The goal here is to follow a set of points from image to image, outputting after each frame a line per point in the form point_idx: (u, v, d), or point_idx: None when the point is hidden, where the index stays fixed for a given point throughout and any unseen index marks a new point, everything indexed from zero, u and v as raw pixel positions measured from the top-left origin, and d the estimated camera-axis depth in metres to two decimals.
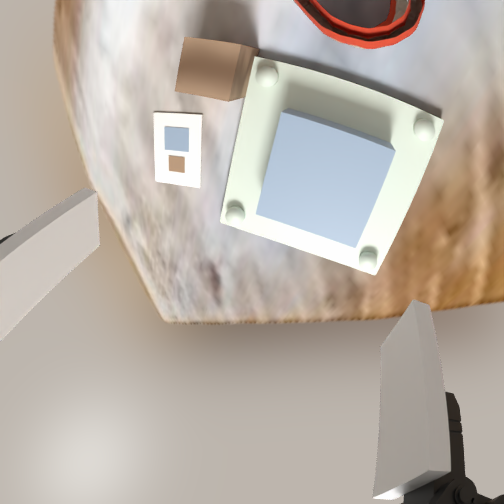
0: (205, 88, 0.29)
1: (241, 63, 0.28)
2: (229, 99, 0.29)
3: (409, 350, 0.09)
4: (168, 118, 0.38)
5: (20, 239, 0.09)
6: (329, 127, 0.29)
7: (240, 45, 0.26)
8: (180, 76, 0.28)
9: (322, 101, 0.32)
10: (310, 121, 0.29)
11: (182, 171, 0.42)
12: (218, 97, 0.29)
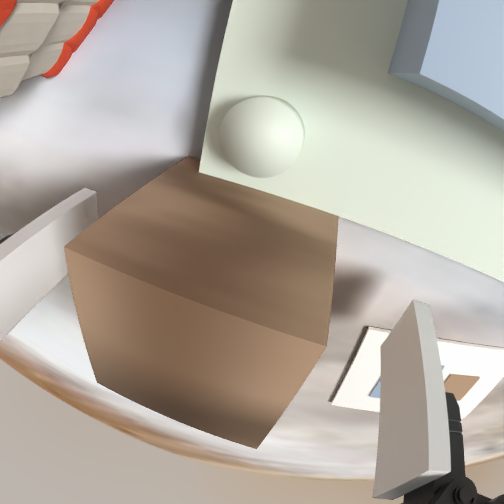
0: (252, 397, 0.07)
1: (170, 238, 0.08)
2: (317, 336, 0.06)
3: (409, 350, 0.09)
4: (353, 387, 0.16)
5: (20, 239, 0.09)
6: None
7: (69, 249, 0.06)
8: (209, 429, 0.09)
9: None
10: None
11: (474, 380, 0.14)
12: (298, 374, 0.06)
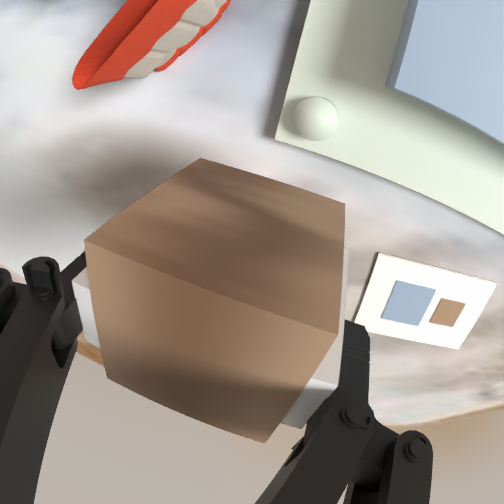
0: (263, 389, 0.08)
1: (187, 234, 0.08)
2: (329, 326, 0.06)
3: None
4: (369, 309, 0.23)
5: None
6: None
7: (89, 242, 0.07)
8: (219, 423, 0.09)
9: (367, 18, 0.13)
10: (414, 27, 0.09)
11: (461, 306, 0.20)
12: (310, 363, 0.07)
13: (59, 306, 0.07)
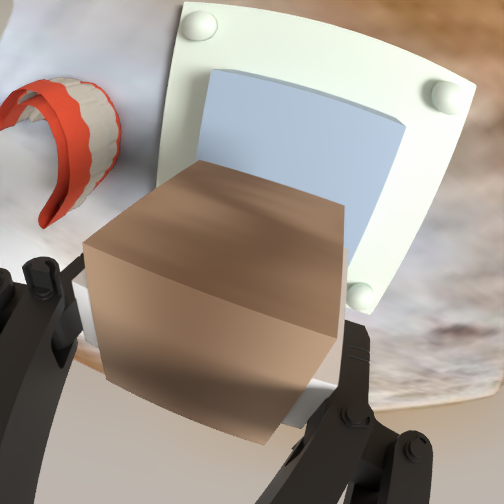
0: (262, 391, 0.08)
1: (186, 237, 0.08)
2: (328, 329, 0.06)
3: None
4: None
5: None
6: None
7: (87, 245, 0.07)
8: (218, 425, 0.09)
9: None
10: None
11: None
12: (309, 366, 0.07)
13: (59, 306, 0.07)
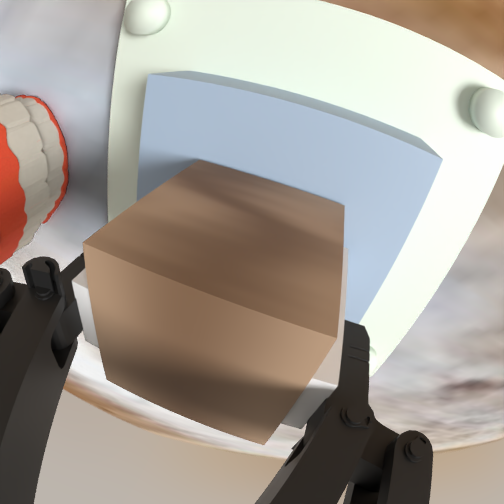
0: (262, 391, 0.08)
1: (186, 237, 0.08)
2: (328, 329, 0.06)
3: None
4: None
5: None
6: None
7: (87, 245, 0.07)
8: (218, 425, 0.09)
9: None
10: None
11: None
12: (309, 366, 0.07)
13: (59, 306, 0.07)
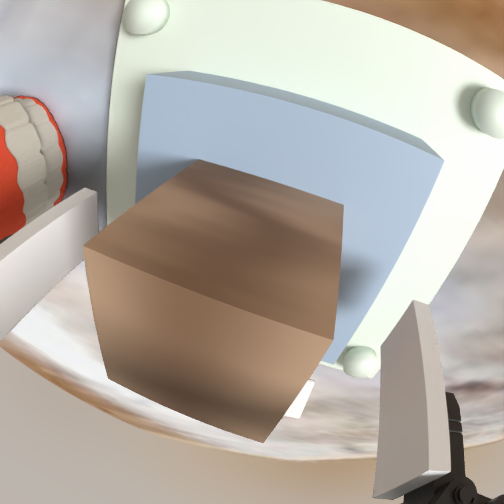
0: (260, 390, 0.08)
1: (185, 239, 0.08)
2: (324, 331, 0.06)
3: (409, 350, 0.09)
4: None
5: (20, 239, 0.09)
6: None
7: (88, 248, 0.07)
8: (218, 423, 0.10)
9: None
10: None
11: None
12: (306, 367, 0.07)
13: None
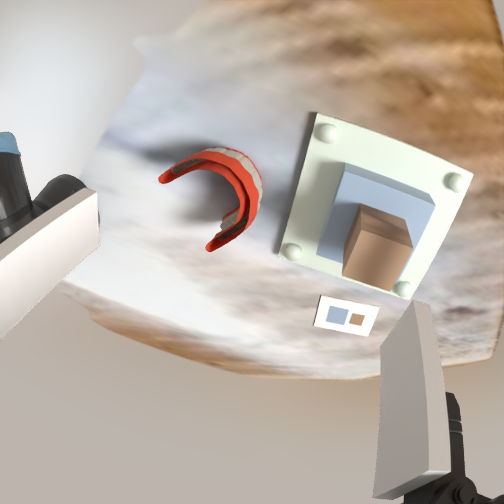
0: (395, 266, 0.32)
1: (378, 228, 0.32)
2: (411, 247, 0.30)
3: (409, 350, 0.09)
4: (320, 317, 0.54)
5: (20, 239, 0.09)
6: (328, 222, 0.39)
7: (362, 230, 0.31)
8: (378, 285, 0.34)
9: (313, 215, 0.43)
10: (323, 235, 0.40)
11: (363, 317, 0.51)
12: (407, 256, 0.31)
13: None
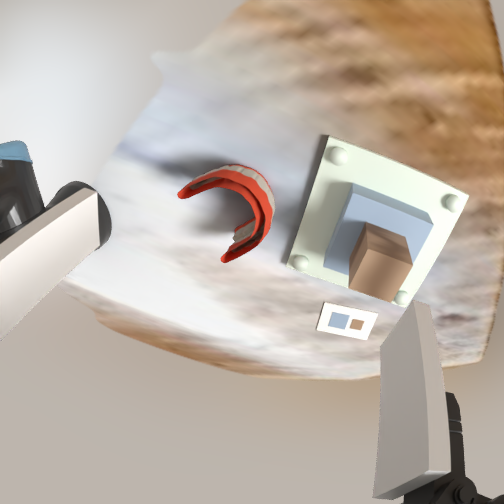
0: (396, 280, 0.36)
1: (382, 247, 0.36)
2: (411, 264, 0.34)
3: (409, 350, 0.09)
4: (322, 322, 0.58)
5: (20, 239, 0.09)
6: (335, 238, 0.43)
7: (368, 249, 0.35)
8: (380, 296, 0.37)
9: (321, 229, 0.47)
10: (330, 250, 0.44)
11: (362, 322, 0.55)
12: (407, 272, 0.35)
13: None
